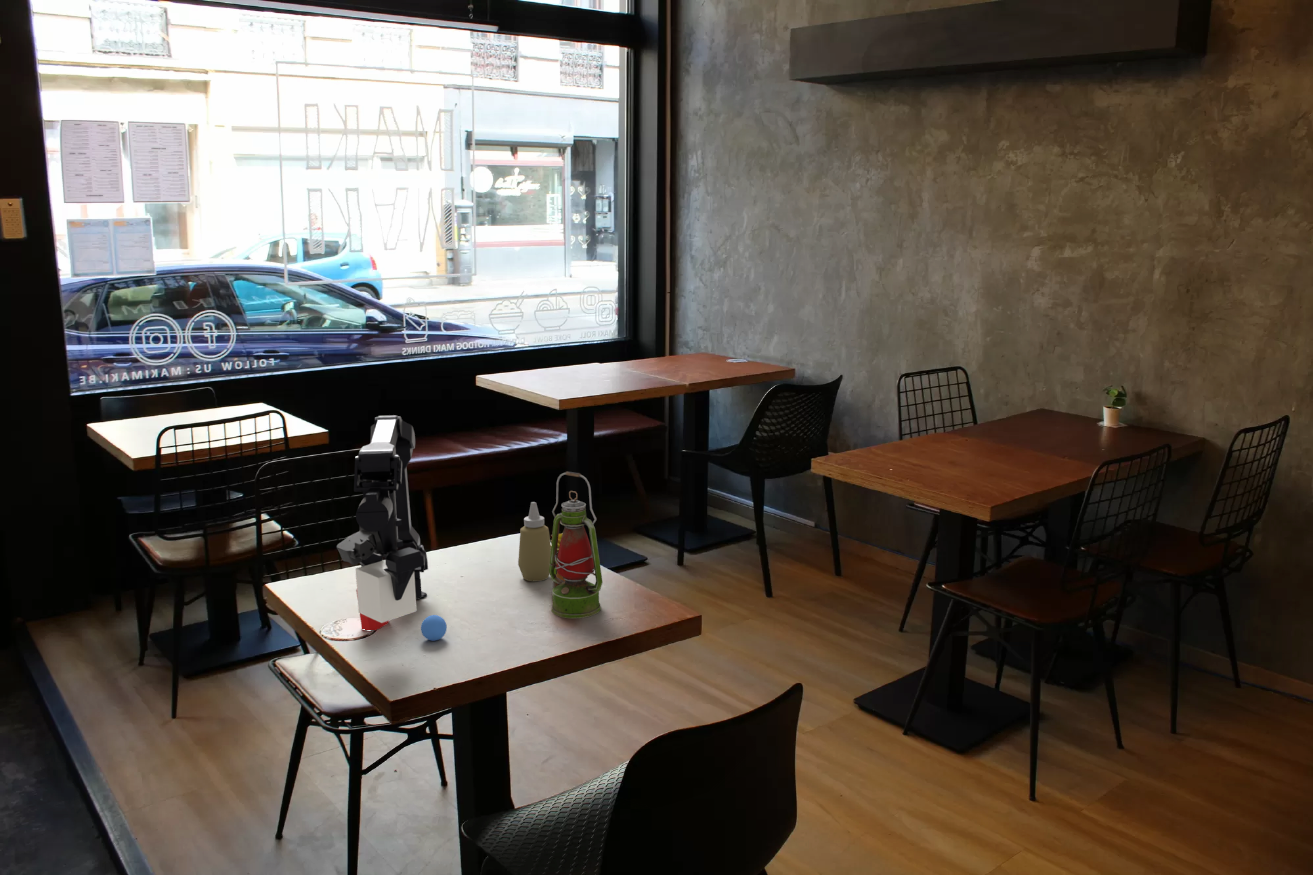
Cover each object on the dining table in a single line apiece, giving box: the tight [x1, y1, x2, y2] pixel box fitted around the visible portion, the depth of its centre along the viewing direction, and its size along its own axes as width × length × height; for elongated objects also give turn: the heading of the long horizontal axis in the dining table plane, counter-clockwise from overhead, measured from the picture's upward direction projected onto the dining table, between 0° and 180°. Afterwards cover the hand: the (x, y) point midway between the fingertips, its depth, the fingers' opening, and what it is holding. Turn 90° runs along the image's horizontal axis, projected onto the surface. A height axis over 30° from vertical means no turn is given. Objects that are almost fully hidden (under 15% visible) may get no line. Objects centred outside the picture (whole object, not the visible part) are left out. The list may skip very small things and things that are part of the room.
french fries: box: [355, 589, 390, 631], centre depth 216 cm, size 8×4×12 cm, turn 158°
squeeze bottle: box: [517, 501, 552, 582], centre depth 242 cm, size 8×8×18 cm
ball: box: [420, 614, 447, 642], centre depth 209 cm, size 5×5×5 cm
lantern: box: [549, 471, 603, 619], centre depth 222 cm, size 14×11×30 cm
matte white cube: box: [355, 559, 417, 623], centre depth 200 cm, size 8×8×9 cm
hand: (386, 594), depth 200 cm, fingers closed on matte white cube, 8 cm apart
